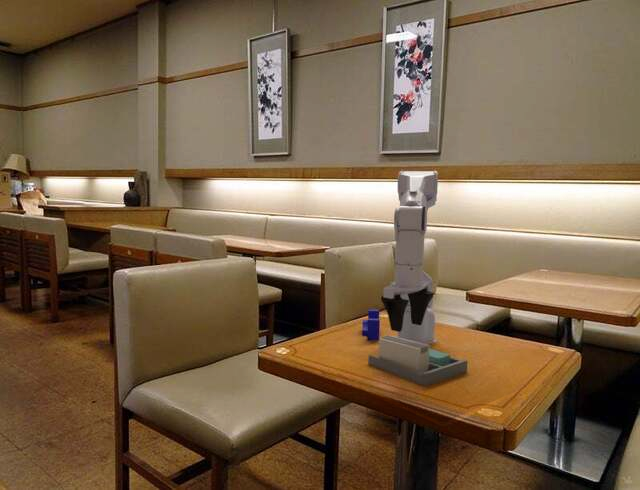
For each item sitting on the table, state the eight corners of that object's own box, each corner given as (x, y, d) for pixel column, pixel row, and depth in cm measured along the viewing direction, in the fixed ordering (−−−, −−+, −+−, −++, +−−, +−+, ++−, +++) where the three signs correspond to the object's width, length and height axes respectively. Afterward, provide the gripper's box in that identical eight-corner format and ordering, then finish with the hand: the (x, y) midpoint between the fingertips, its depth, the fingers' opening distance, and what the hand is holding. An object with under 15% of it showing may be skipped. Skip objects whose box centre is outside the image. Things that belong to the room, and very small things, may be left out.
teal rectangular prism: (413, 356, 112) (414, 343, 111) (449, 368, 104) (450, 355, 104) (401, 359, 109) (402, 346, 109) (437, 372, 101) (438, 358, 101)
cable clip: (362, 330, 137) (363, 309, 136) (378, 330, 136) (379, 309, 136) (361, 342, 125) (362, 319, 124) (379, 343, 124) (379, 320, 124)
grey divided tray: (409, 354, 115) (410, 342, 114) (466, 374, 102) (467, 360, 102) (368, 366, 106) (368, 353, 106) (425, 389, 94) (425, 374, 93)
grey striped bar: (389, 361, 108) (389, 334, 107) (428, 373, 101) (429, 345, 100) (378, 365, 105) (378, 338, 104) (418, 378, 98) (419, 349, 97)
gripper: (412, 259, 108) (409, 318, 110) (372, 264, 98) (370, 329, 99) (440, 262, 103) (437, 324, 105) (401, 268, 93) (398, 337, 94)
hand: (406, 327), depth 102 cm, fingers open, 7 cm apart
